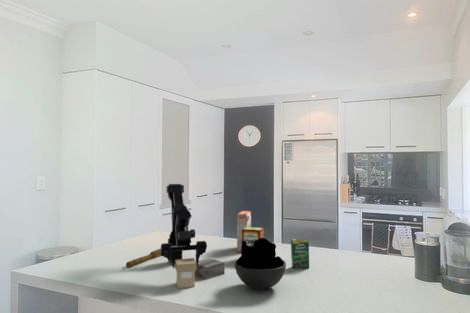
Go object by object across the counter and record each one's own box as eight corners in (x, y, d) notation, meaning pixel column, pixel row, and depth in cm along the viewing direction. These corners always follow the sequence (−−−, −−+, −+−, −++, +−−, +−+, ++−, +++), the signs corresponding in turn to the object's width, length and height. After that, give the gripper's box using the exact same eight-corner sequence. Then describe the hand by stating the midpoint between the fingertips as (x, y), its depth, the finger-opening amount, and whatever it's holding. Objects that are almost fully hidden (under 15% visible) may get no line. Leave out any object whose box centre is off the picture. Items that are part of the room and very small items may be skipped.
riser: (192, 273, 156) (192, 262, 156) (210, 268, 162) (210, 258, 163) (206, 279, 148) (206, 267, 148) (224, 273, 155) (224, 262, 155)
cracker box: (247, 253, 191) (247, 214, 191) (236, 252, 192) (236, 213, 192) (251, 246, 205) (251, 210, 205) (241, 246, 206) (241, 210, 206)
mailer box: (176, 283, 144) (176, 260, 144) (192, 281, 145) (192, 259, 146) (178, 288, 137) (178, 265, 138) (194, 286, 139) (194, 264, 139)
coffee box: (292, 268, 163) (292, 240, 163) (290, 266, 166) (290, 238, 166) (309, 268, 163) (309, 239, 163) (308, 266, 166) (307, 238, 166)
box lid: (174, 266, 144) (174, 259, 144) (193, 265, 146) (193, 258, 146) (176, 272, 137) (176, 264, 137) (196, 270, 139) (196, 263, 139)
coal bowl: (288, 281, 145) (287, 235, 146) (283, 300, 126) (283, 247, 126) (240, 278, 150) (240, 233, 150) (229, 295, 130) (229, 244, 131)
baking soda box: (242, 260, 176) (241, 228, 176) (246, 257, 182) (246, 226, 183) (260, 262, 173) (260, 229, 173) (263, 259, 179) (263, 227, 179)
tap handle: (125, 261, 166) (164, 247, 193) (125, 267, 166) (164, 252, 193) (130, 262, 165) (169, 247, 192) (130, 268, 165) (169, 253, 192)
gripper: (160, 223, 144) (162, 257, 133) (206, 221, 149) (211, 254, 138) (159, 239, 151) (161, 272, 140) (202, 236, 156) (207, 268, 145)
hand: (185, 266), depth 141 cm, fingers open, 9 cm apart
